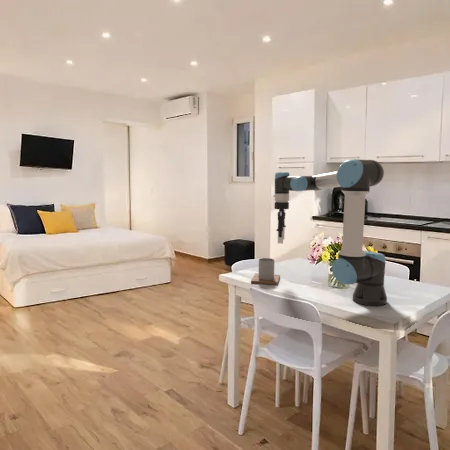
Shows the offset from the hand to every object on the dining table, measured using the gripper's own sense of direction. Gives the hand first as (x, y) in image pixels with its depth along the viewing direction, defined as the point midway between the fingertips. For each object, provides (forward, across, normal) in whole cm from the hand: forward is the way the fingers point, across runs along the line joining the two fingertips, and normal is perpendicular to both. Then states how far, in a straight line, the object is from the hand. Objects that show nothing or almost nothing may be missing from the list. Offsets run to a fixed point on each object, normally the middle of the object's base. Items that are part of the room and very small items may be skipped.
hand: (281, 241), depth 228 cm
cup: (+21, -1, -8) cm, 22 cm away
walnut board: (+22, -1, -8) cm, 23 cm away
